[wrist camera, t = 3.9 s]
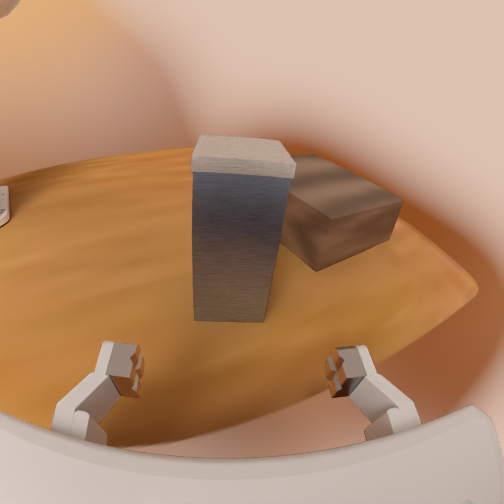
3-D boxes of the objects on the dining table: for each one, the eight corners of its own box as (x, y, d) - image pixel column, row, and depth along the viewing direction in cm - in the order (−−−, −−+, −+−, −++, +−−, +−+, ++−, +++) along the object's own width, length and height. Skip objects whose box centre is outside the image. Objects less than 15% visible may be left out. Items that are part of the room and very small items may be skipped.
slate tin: (192, 321, 20) (191, 156, 13) (197, 275, 24) (200, 134, 17) (264, 323, 21) (296, 164, 14) (257, 277, 25) (279, 140, 18)
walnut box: (228, 203, 37) (232, 159, 33) (306, 190, 44) (313, 154, 41) (315, 274, 27) (331, 219, 23) (388, 241, 34) (403, 200, 30)
